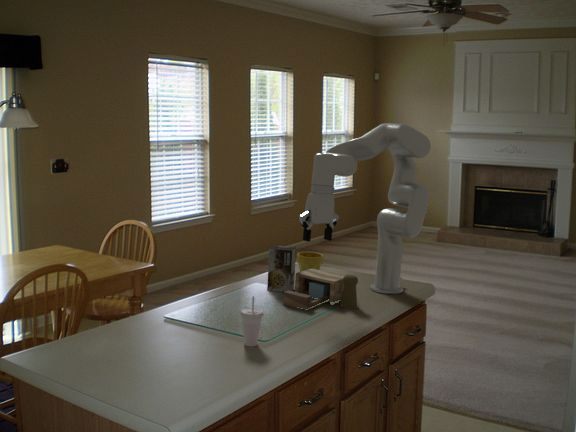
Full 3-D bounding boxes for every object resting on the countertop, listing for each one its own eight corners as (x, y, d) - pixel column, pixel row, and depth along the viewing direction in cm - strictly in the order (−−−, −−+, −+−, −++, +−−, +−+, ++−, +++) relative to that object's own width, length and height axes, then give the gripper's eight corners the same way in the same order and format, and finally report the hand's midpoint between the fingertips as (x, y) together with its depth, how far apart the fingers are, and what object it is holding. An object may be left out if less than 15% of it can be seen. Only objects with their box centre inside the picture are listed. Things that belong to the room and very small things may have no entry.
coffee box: (294, 289, 246) (297, 247, 244) (290, 293, 240) (293, 250, 238) (271, 286, 248) (273, 244, 246) (266, 290, 242) (268, 247, 240)
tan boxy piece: (309, 290, 245) (311, 268, 244) (347, 299, 237) (349, 276, 235) (294, 296, 237) (295, 273, 235) (332, 305, 228) (334, 281, 227)
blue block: (317, 295, 240) (318, 279, 239) (331, 298, 237) (332, 282, 236) (308, 298, 235) (309, 282, 234) (322, 301, 232) (323, 285, 231)
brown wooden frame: (315, 293, 242) (316, 281, 242) (337, 298, 237) (338, 286, 237) (283, 304, 225) (283, 292, 224) (306, 310, 220) (307, 297, 219)
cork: (357, 304, 231) (359, 274, 229) (357, 309, 225) (359, 278, 223) (339, 303, 231) (342, 272, 230) (339, 308, 225) (341, 276, 224)
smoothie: (241, 348, 181) (244, 299, 179) (237, 340, 187) (239, 293, 185) (264, 347, 183) (266, 299, 181) (259, 339, 189) (261, 292, 187)
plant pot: (319, 282, 258) (320, 258, 257) (293, 279, 260) (295, 255, 259) (323, 276, 268) (325, 253, 267) (299, 273, 270) (300, 250, 269)
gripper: (333, 189, 229) (328, 237, 231) (295, 188, 217) (290, 239, 219) (348, 192, 223) (343, 241, 225) (310, 191, 212) (305, 243, 214)
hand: (317, 240), depth 222 cm, fingers open, 9 cm apart
